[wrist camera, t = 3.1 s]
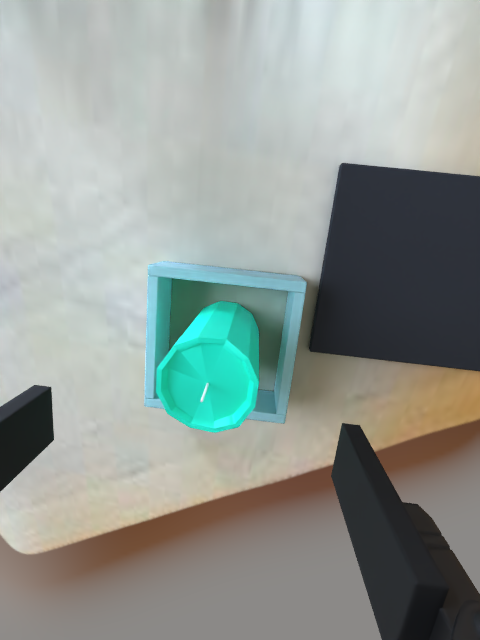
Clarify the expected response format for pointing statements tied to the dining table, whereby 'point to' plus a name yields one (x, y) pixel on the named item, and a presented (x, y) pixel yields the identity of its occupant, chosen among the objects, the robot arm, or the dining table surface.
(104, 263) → the dining table surface
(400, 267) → the mat
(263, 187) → the dining table surface
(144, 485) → the dining table surface
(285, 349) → the tub
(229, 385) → the candle
